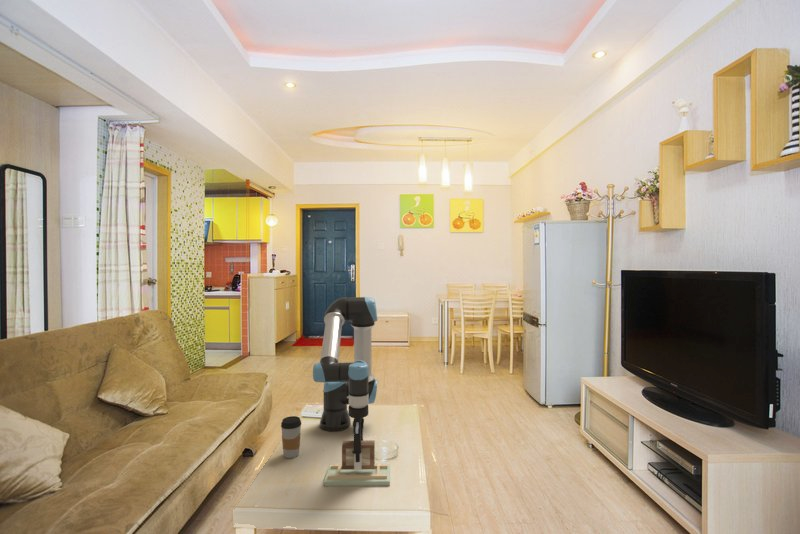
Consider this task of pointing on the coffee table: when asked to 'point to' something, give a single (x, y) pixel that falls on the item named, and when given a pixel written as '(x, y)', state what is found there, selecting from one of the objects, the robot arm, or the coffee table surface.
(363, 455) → the brown wooden picture frame
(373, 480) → the mint cabinet door
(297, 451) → the coffee cup
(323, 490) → the coffee table surface
